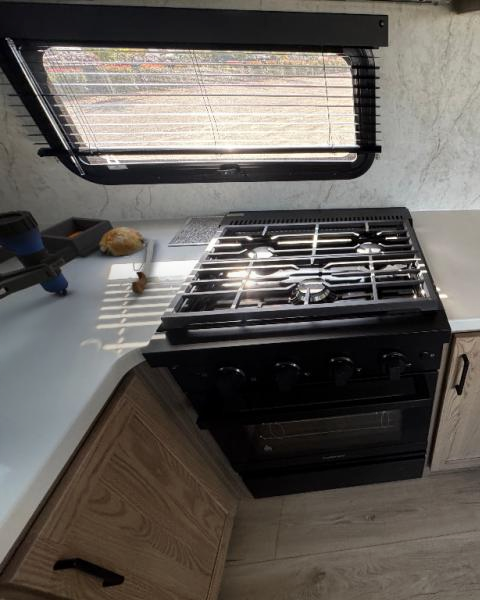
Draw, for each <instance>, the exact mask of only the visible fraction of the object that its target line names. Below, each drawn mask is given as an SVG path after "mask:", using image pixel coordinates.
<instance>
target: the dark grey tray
mask: <svg viewBox="0 0 480 600" xmlns="http://www.w3.org/2000/svg"><path fill="white" fill-rule="evenodd" d="M112 229H114V226H113V225H112V223H111V221H110V220H108V219H100V218H99V219H98V218H89V217H80V216H79V217H78V216H71V217H69V218H67V219H64V220H62V221H60V222H58V223H56V224H54V225H52V226H49V227H47V228H45V229H43V230H41V231H40V236H41V240H42V244H43V245H44V247H46V248H47V249H48V251H49V252H50V254H51V255H53V254H55V253H57V252H59V251H60V250H62V249H64V248H66V247H71V248H72V250H73V251H74V253H75V254H76V256H77V258H78V257H80V258H87V257H88V256H90V255H92V254H94V253H95V252H97V251H99V250H101V247H100V244H99V243H100V242H101V240H102V237H103V236H104V235H105V234H106V233H107V232H109V231H110V230H112Z"/></svg>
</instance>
